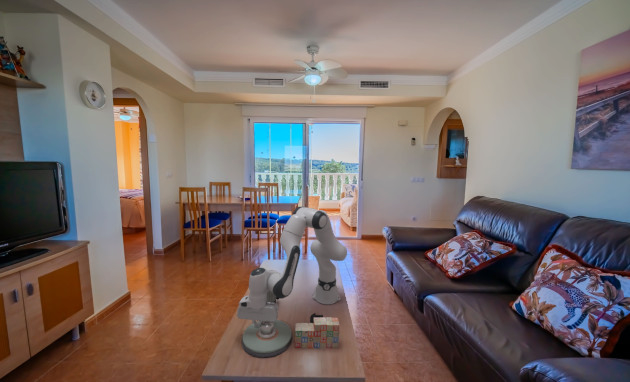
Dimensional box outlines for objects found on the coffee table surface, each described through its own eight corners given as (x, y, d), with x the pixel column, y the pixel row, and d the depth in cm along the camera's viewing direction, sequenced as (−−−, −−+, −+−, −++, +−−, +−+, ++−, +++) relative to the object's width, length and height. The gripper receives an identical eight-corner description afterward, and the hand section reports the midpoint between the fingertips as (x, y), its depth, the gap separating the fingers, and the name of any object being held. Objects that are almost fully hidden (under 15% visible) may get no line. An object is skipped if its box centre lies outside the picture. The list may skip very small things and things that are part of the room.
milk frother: (273, 314, 151) (273, 290, 150) (248, 310, 154) (248, 286, 153) (281, 301, 165) (281, 279, 163) (258, 298, 168) (258, 276, 167)
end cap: (309, 324, 143) (310, 312, 142) (322, 324, 143) (322, 312, 142) (310, 336, 133) (310, 323, 132) (323, 336, 133) (324, 323, 132)
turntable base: (251, 322, 142) (251, 319, 142) (295, 326, 140) (295, 323, 140) (233, 355, 117) (233, 352, 117) (286, 360, 115) (287, 357, 115)
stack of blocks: (294, 348, 123) (295, 324, 122) (294, 340, 129) (295, 317, 128) (338, 348, 124) (339, 324, 123) (336, 339, 130) (337, 317, 129)
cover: (260, 327, 133) (260, 316, 133) (277, 328, 133) (278, 317, 132) (255, 338, 124) (255, 326, 124) (274, 339, 124) (274, 328, 123)
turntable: (252, 320, 141) (252, 308, 141) (294, 323, 139) (295, 312, 139) (234, 350, 118) (235, 337, 117) (286, 355, 116) (286, 342, 115)
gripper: (279, 299, 130) (279, 325, 131) (240, 296, 131) (240, 321, 133) (276, 306, 123) (276, 333, 125) (235, 302, 125) (235, 329, 126)
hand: (257, 327), depth 129 cm, fingers closed
